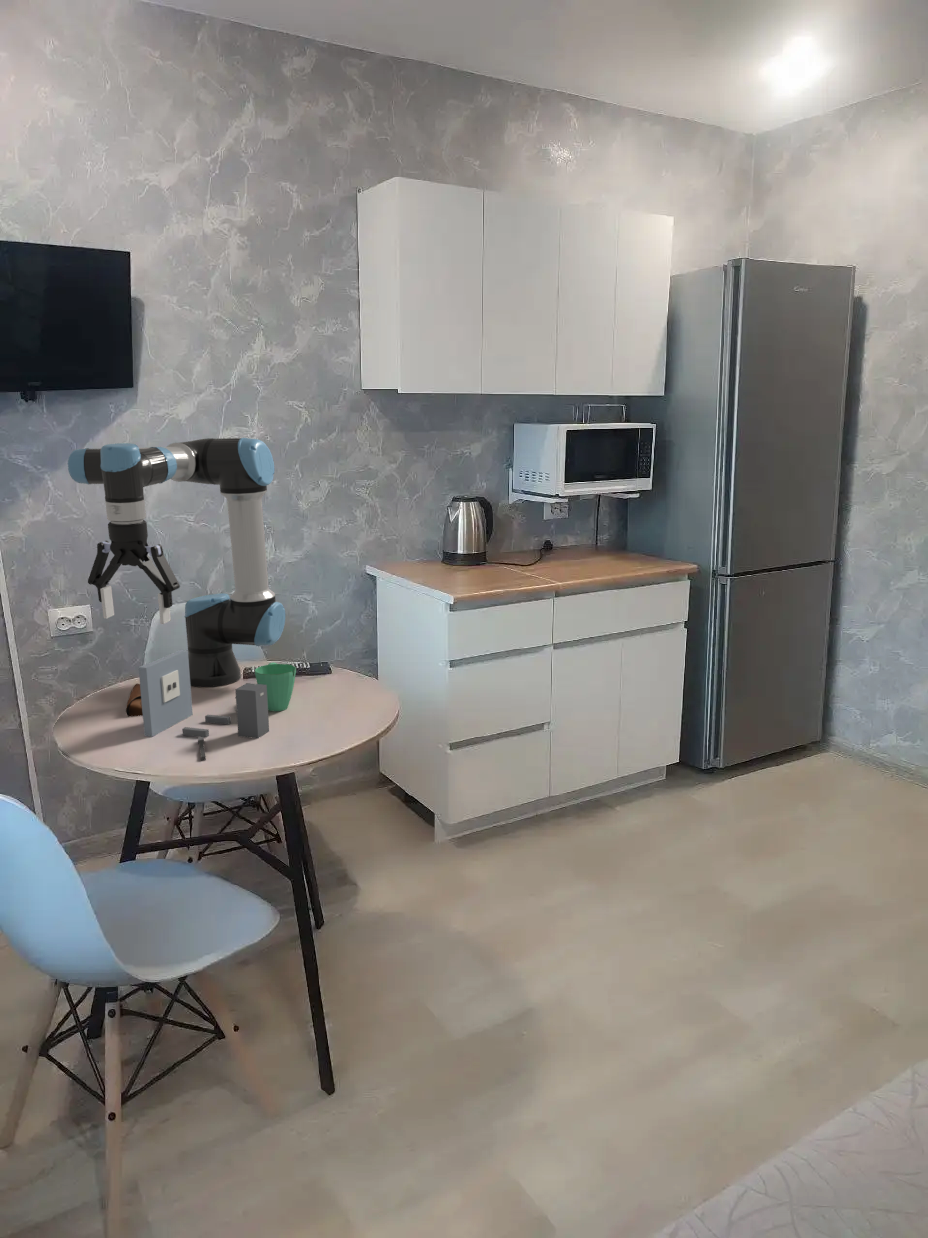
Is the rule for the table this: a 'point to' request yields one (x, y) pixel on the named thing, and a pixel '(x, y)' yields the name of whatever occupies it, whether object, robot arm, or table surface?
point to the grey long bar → (202, 748)
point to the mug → (277, 684)
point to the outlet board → (169, 695)
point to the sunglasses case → (134, 702)
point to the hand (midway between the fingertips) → (137, 619)
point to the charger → (252, 710)
